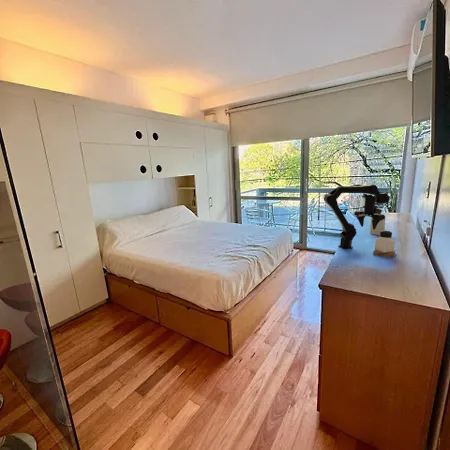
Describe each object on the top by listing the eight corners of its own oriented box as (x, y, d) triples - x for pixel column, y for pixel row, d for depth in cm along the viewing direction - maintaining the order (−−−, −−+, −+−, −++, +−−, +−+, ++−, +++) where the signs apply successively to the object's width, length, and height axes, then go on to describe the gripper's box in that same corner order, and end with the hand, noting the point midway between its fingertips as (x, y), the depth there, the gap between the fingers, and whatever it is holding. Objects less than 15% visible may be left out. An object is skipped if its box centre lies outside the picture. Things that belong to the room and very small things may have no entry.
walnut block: (373, 255, 149) (373, 251, 148) (376, 251, 156) (376, 246, 156) (392, 259, 143) (393, 254, 142) (395, 254, 150) (395, 249, 149)
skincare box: (384, 234, 189) (386, 215, 186) (380, 236, 186) (382, 216, 183) (372, 232, 196) (374, 214, 193) (369, 233, 193) (371, 215, 190)
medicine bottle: (393, 251, 146) (396, 232, 144) (383, 252, 145) (386, 233, 142) (383, 248, 153) (386, 229, 150) (374, 249, 152) (376, 230, 149)
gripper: (393, 204, 149) (390, 229, 153) (367, 201, 167) (365, 223, 170) (378, 206, 146) (376, 231, 150) (354, 203, 164) (352, 225, 167)
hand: (367, 228), depth 159 cm, fingers open, 9 cm apart
